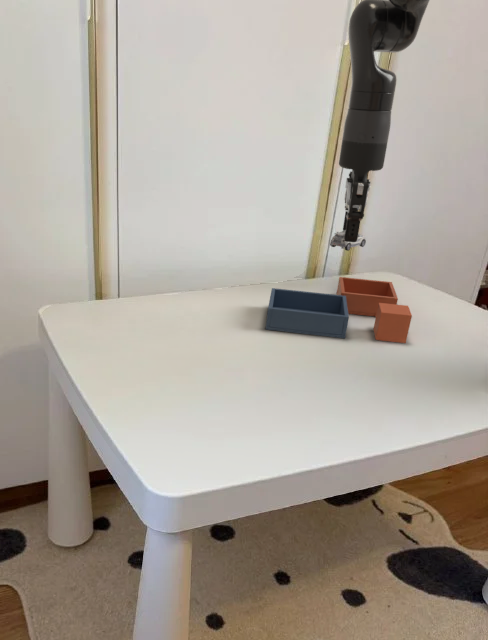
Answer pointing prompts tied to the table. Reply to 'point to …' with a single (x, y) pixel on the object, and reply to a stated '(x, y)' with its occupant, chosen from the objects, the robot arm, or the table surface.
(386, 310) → the terracotta block
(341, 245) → the toy car
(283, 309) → the blue bin
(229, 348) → the table surface
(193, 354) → the table surface
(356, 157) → the robot arm
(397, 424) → the table surface
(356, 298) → the terracotta bin
